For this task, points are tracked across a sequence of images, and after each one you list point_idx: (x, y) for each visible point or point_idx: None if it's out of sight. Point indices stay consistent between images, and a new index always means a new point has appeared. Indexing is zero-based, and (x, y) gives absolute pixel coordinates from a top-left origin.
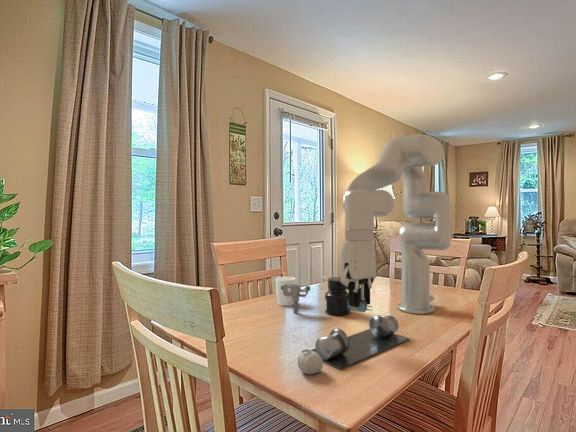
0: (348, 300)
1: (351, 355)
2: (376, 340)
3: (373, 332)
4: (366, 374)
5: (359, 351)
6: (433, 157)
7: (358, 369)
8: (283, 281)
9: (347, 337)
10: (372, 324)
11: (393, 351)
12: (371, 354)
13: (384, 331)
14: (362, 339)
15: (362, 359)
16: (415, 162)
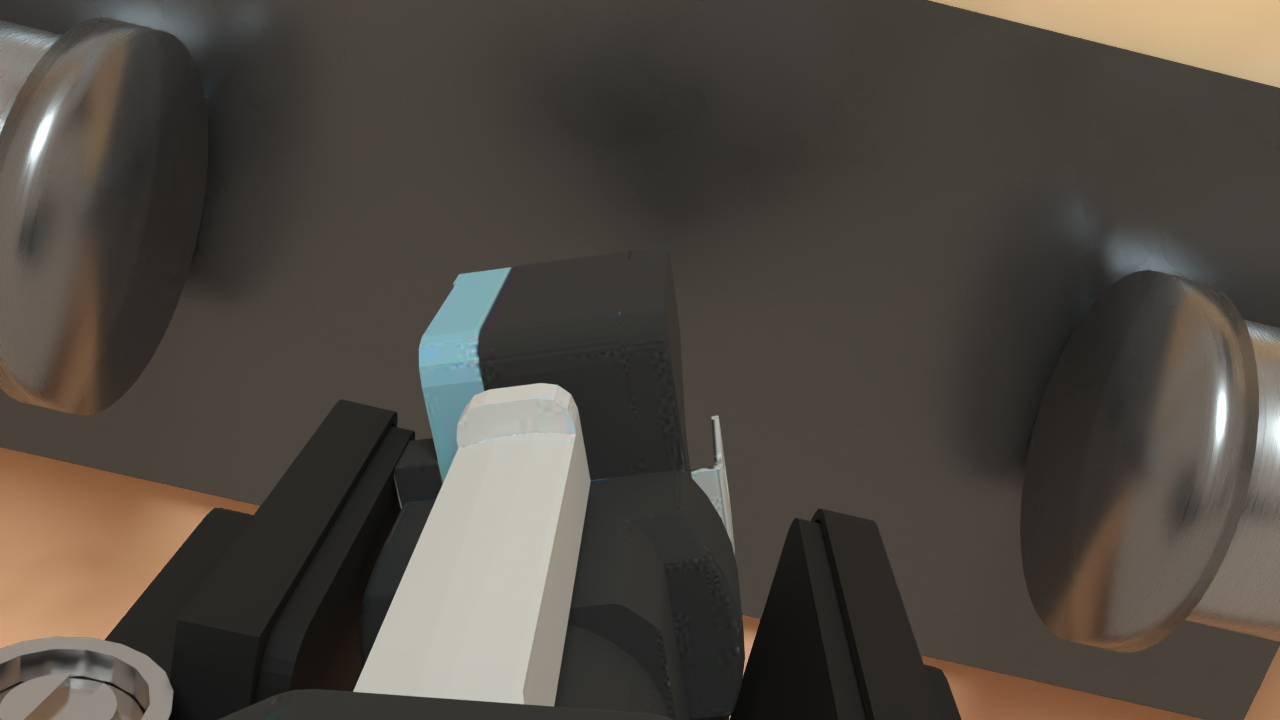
0: (420, 367)
1: (232, 356)
2: (920, 412)
3: (1095, 325)
4: (5, 646)
5: (411, 385)
6: None
7: (37, 541)
8: None
9: (72, 411)
10: (1148, 350)
11: (744, 669)
12: None
13: (1039, 552)
14: (846, 229)
15: (249, 497)
16: None
